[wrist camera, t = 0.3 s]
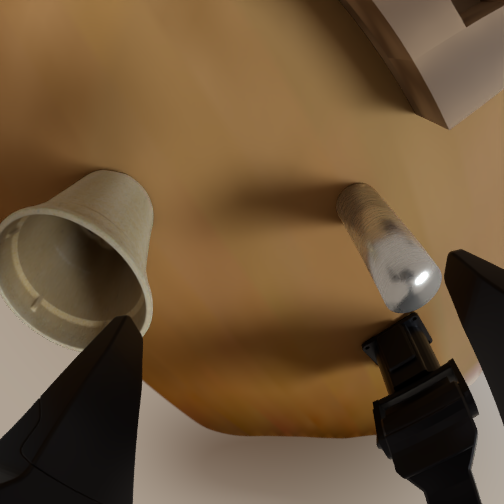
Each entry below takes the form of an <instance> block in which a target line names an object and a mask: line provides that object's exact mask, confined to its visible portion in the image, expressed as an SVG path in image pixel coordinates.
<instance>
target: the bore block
mask: <svg viewBox="0 0 504 504" xmlns="http://www.w3.org/2000/svg"><path fill="white" fill-rule="evenodd" d="M339 1H340V2H341V3H342V5H343V6H344V7H345V8H346V10H347V11H348V12H349V13H350V15H351V16H352V17H353V18H354V20H355V21H356V22H357V24H358V25H359V26H360V28H361V29H362V30H363V32H364V33H365V34H366V36H367V37H368V39H369V40H370V41H371V43H372V44H373V46H374V47H375V48H376V50H377V51H378V53H379V54H380V56H381V57H382V59H383V60H384V62H385V63H386V65H387V66H388V68H389V70H390V71H391V73H392V74H393V76H394V77H395V79H396V81H397V82H398V84H399V86H400V87H401V89H402V91H403V92H404V94H405V96H406V98H407V99H408V101H409V103H410V105H411V106H412V108H413V110H414V112H415V114H416V115H419V116H421V117H423V118H425V119H427V120H429V121H432V122H434V123H436V124H438V125H440V126H442V127H444V128H446V129H448V130H450V129H451V128H453V127H454V126H455V125H457V124H458V123H459V122H461V121H462V120H463V119H465V118H466V117H467V116H469V115H470V114H471V113H473V112H474V111H475V110H477V109H478V108H479V107H481V106H482V105H483V104H485V103H486V102H487V101H488V100H490V99H491V98H492V97H494V96H495V95H496V94H498V93H499V92H500V91H502V90H503V89H504V0H339Z"/></svg>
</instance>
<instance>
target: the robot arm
mask: <svg viewBox="0 0 504 504" xmlns="http://www.w3.org/2000/svg"><path fill="white" fill-rule="evenodd" d="M444 280H445V284H446V286H447V289H448V291H449V294H450V296H451V298H452V301H453V303H454V306H455V309H456V311H457V314H458V316H459V319H460V321H461V324H462V326H463V329H464V331H465V333H466V335H467V337H468V339H469V341H470V343H471V345H472V348H473V350H474V352H475V354H476V356H477V359H478V361H479V363H480V365H481V368H482V370H483V372H484V375H485V377H486V380H487V382H488V384H489V387H490V389H491V392H492V395H493V397H494V400H495V402H496V405H497V408H498V410H499V413H500V416H501V419H502V422H503V424H504V269H502V268H500V267H498V266H496V265H494V264H492V263H490V262H488V261H486V260H484V259H482V258H479V257H477V256H475V255H473V254H471V253H469V252H467V251H464V250H462V249H459V250H455V251H451V252H449V254H448V256H447V262H446V268H445V273H444ZM431 342H432V338H431V336H430V335H429V333H428V331H427V329H426V328H425V326H424V324H423V323H422V321H421V319H420V317H419V316H418V314H417V313H412V314H410V315H409V316H407V317H406V318H404V319H403V320H401V321H399V322H398V323H396V324H395V325H393V326H392V327H390V328H388V329H387V330H385V331H383V332H382V333H380V334H379V335H377V336H375V337H374V338H372V339H370V340H368V341H367V342H365V343H364V344H362V349H363V351H364V352H365V353H366V354H367V355H368V356H369V357H370V358H371V359H372V360H373V361H374V362H375V363H376V364H377V365H378V366H379V368H380V371H381V374H382V377H383V379H384V382H385V385H386V388H387V391H388V394H389V395H388V396H386V397H384V398H382V399H380V400H376V401H374V402H373V407H374V409H373V414H374V420H375V426H376V432H377V447H378V448H379V449H382V450H383V451H384V453H385V454H386V456H387V457H388V458H389V459H393V462H394V465H395V470H396V472H397V473H398V474H399V475H400V476H401V477H403V478H404V479H407V480H409V481H410V482H411V483H413V484H414V485H415V486H417V487H418V488H419V489H421V490H422V491H423V492H424V494H425V497H426V501H427V504H482V503H481V499H480V496H479V493H478V489H477V486H476V483H475V480H474V477H473V473H472V470H471V469H472V464H473V460H474V455H475V450H476V445H477V438H478V433H477V428H476V425H475V423H474V420H473V418H474V417H476V416H477V415H479V412H478V409H477V406H476V404H475V401H474V399H473V396H472V394H471V392H470V390H469V388H468V386H467V384H466V382H465V380H464V378H463V376H462V374H461V372H460V371H459V369H458V367H457V365H456V363H455V361H454V360H453V358H452V359H451V360H449V361H448V362H447V363H446V364H444V365H443V366H440V364H439V362H438V360H437V358H436V356H435V354H434V352H433V350H432V348H431V346H430V343H431ZM142 358H143V338H142V335H141V333H140V331H139V330H138V328H137V326H136V325H135V323H134V321H133V320H132V318H131V317H130V316H129V315H122V316H116V317H115V318H114V319H113V320H112V321H111V322H110V323H109V324H108V325H107V326H106V327H105V328H104V329H103V330H102V331H101V332H100V333H99V334H98V335H97V336H96V337H95V338H94V339H93V340H92V341H91V342H90V343H89V344H88V346H87V347H86V348H85V349H84V350H83V351H82V352H81V353H80V354H79V355H78V356H77V357H76V358H75V359H74V360H73V361H72V363H71V364H70V365H69V366H68V367H67V368H66V369H65V370H64V371H63V372H62V373H61V374H60V376H59V377H58V378H57V379H56V380H55V381H54V382H53V383H52V384H51V385H50V387H49V388H48V389H47V390H46V391H45V392H44V393H43V394H42V395H41V397H40V399H38V400H37V401H36V402H35V403H34V405H33V406H32V407H31V408H30V409H29V410H28V411H27V412H26V413H25V415H24V416H23V417H22V418H21V419H20V420H19V421H18V422H17V423H16V424H15V425H14V426H13V427H12V428H11V429H10V430H9V431H8V432H7V433H6V434H5V435H4V436H3V437H2V438H1V439H0V504H133V482H134V465H135V452H136V440H137V428H138V419H139V418H138V417H139V409H140V400H141V390H142Z"/></svg>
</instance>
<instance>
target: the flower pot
mask: <svg viewBox="0 0 504 504" xmlns="http://www.w3.org/2000/svg"><path fill="white" fill-rule="evenodd" d="M152 226H153V207H152V203H151V201H150V198H149V196H148V194H147V193H146V191H145V190H144V188H143V187H142V186H141V185H140V184H139V183H138V182H137V181H136V180H134V179H133V178H132V177H130V176H128V175H126V174H123V173H118V172H114V171H108V170H99V171H95V172H92V173H90V174H88V175H86V176H85V177H83V178H82V179H80V180H79V181H77V182H76V183H74V184H73V185H72V186H70V187H68V188H67V189H65V190H64V191H62V192H61V193H59V194H58V195H56V196H55V197H53V198H52V199H50V200H49V201H47V202H46V203H42V204H39V205H36V206H31V207H26V208H23V209H20V210H18V211H16V212H14V213H12V214H10V215H9V216H8V217H7V218H5V219H4V221H2V222H1V224H0V294H1V296H2V298H3V299H4V301H5V303H6V304H7V305H8V307H9V308H10V309H11V310H12V311H13V313H14V314H15V315H16V316H17V317H18V318H19V319H20V320H21V321H22V322H23V323H24V324H26V325H27V326H28V327H29V328H31V329H32V330H33V331H35V332H37V334H39V335H41V336H42V337H44V338H46V339H47V340H49V341H51V342H53V343H55V344H57V345H60V346H62V347H66V348H68V349H71V350H74V351H79V352H82V351H83V350H84V349H85V348H86V347H87V346H88V344H89V343H90V342H91V341H92V340H93V339H94V338H95V337H96V336H97V335H98V334H99V333H100V332H101V331H102V330H103V329H104V328H105V327H106V326H107V325H108V324H109V323H110V322H111V321H112V320H113V319H114V318H115V317H116V316H122V315H129V316H130V317H131V318H132V320H133V321H134V323H135V325H136V326H137V328H138V330H139V331H140V333H141V335H142V337H143V336H144V334H145V333H146V331H147V330H148V328H149V326H150V323H151V320H152V314H153V301H152V294H151V290H150V286H149V284H148V279H147V274H146V264H147V256H148V248H149V241H150V235H151V230H152ZM91 231H92V232H93V233H92V232H91Z"/></svg>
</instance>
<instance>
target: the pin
mask: <svg viewBox="0 0 504 504" xmlns="http://www.w3.org/2000/svg"><path fill="white" fill-rule="evenodd" d="M336 210H337V214H338V216H339V217H340V219H341V221H342V223H343V224H344V226H345V228H346V230H347V232H348V233H349V235H350V237H351V239H352V241H353V242H354V244H355V246H356V248H357V250H358V252H359V253H360V255H361V257H362V259H363V261H364V263H365V265H366V267H367V269H368V270H369V272H370V274H371V276H372V278H373V280H374V282H375V284H376V286H377V288H378V290H379V292H380V294H381V296H382V298H383V300H384V302H385V304H386V306H387V307H388V308H389V309H390V310H391V311H393V312H396V313H407V312H411V311H414V310H417V309H419V308H420V307H422V306H424V305H425V304H426V303H428V302H429V301H430V300H431V299H432V298H433V296H434V295H435V294H436V292H437V291H438V289H439V287H440V284H441V279H442V276H441V271H440V269H439V268H438V266H437V265H436V264H435V262H434V261H433V260H432V258H431V257H430V256H429V254H428V253H427V252H426V250H425V249H424V248H423V247H422V245H421V244H420V243H419V241H418V240H417V239H416V238H415V236H414V235H413V234H412V233H411V231H410V230H409V229H408V228H407V227H406V225H405V224H404V223H403V222H402V220H401V219H400V218H399V217H398V216H397V214H396V213H395V212H394V211H393V210H392V209H391V207H390V206H389V205H388V204H387V203H386V202H385V200H384V199H383V198H382V197H381V196H380V195H379V194H378V193H377V191H376V190H375V189H374V188H373V187H371V186H370V185H368V184H364V183H357V184H353V185H350V186H348V187H347V188H346V189H344V190H343V191H342V193H341V194H340V195H339V197H338V199H337V203H336Z"/></svg>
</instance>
